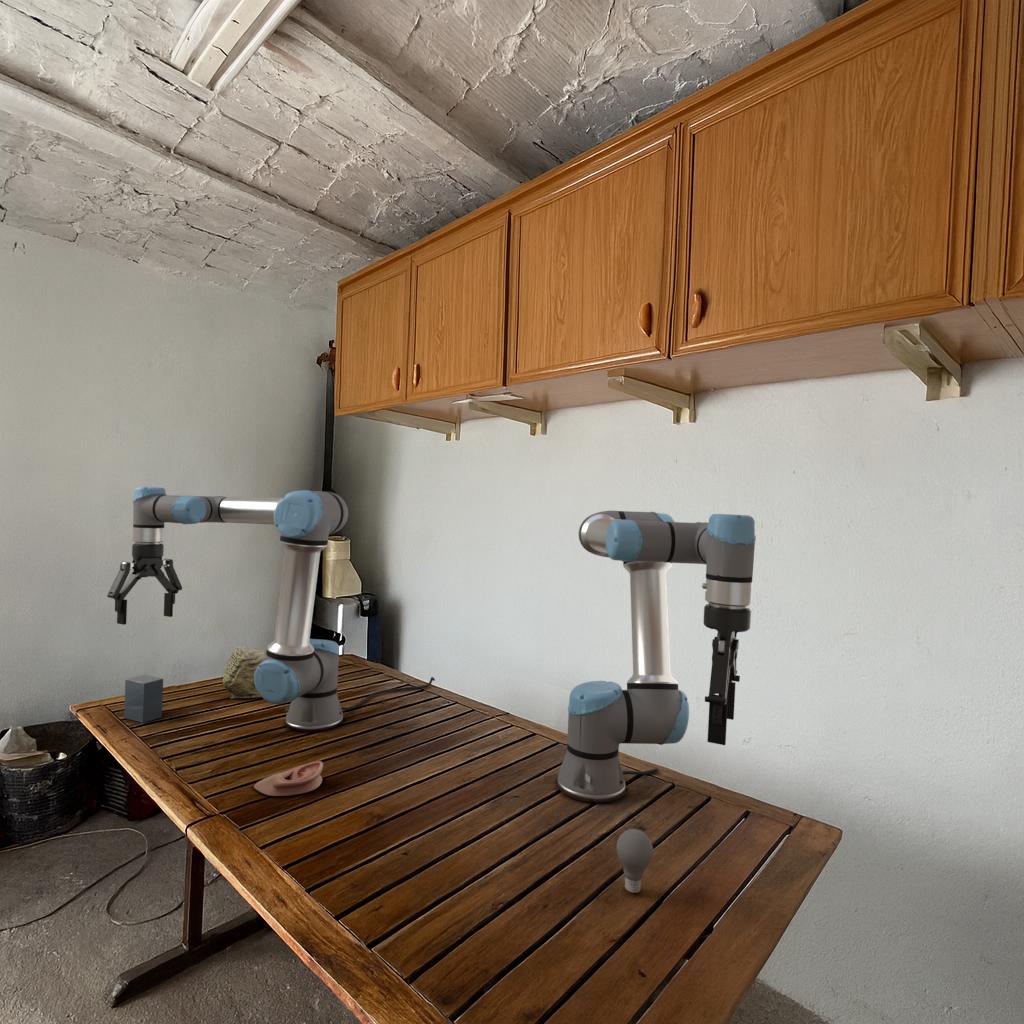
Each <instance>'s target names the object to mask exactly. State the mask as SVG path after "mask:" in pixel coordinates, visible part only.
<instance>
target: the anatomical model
mask: <svg viewBox="0 0 1024 1024" xmlns="http://www.w3.org/2000/svg"><path fill="white" fill-rule="evenodd" d="M323 768H324V763H323V761H321V760H318V761H312V762H309V763H306V764H303V765H299V766H297V767H294V768H291V769H288V770H286V771H283V772H278V773H275V774H272V775H269V776H267V777H265V778H263V779H260V780H259V781H257V782H256V783H255V784H254V785H253V788H254V789H255V790H256V791H257V792H259V793H261V794H264V795H266V796H268V797H269V796H270V797H284V796H295V795H301V794H305V793H308V792H312V791H315V790H316V789H317V788H319V787H320V786H321V784H322V783H323V777H322V775H321V774H322V771H323Z"/></svg>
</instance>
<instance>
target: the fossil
mask: <svg viewBox="0 0 1024 1024" xmlns="http://www.w3.org/2000/svg"><path fill="white" fill-rule="evenodd" d="M265 659H266V652H265V650H264V649H263V648H260V647H258V648H251V647H247V646H246V647H245V646H238V647H237V648H236V649H235V650H233V651H232V653H231V656H230V657H229V659H228V660H227V663H226V666H225V668H224V671H223V675H222V676H223V677H222V685H223V687H224V688H225V690H226V691H228V693H229V698H230V699H250V698H262V696H261V694H260V693H259V692H258V691H257V689H256V687H255V683H254V674H255V671H256V669H257V667H258V666H259V665H260V664H261V663H262V662H263V661H265Z"/></svg>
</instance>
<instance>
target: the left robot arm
mask: <svg viewBox="0 0 1024 1024" xmlns="http://www.w3.org/2000/svg"><path fill="white" fill-rule="evenodd" d="M132 504H133V505H132V506H133V507H132V508H133V511H132V513H133V514H132V515H133V517H132V542H134V543H133V544H132V545H131V557H132V561H131V562H130V561H129V562H128V561H121V562H120V565H119V571H118V573H117V575H116V576H115V578H114V580H113V582H112V585H111V586H110V588H109V591H108V592H107V595H106V597H107V598H109V599H113V600H114V612H116V624H117V625H118V624H119V625H124V626H125V625H127V616H128V615H127V613H128V599H126V597H127V595H128V594H129V593H130V592H131V590H132V589H133V588H134V587H135V585H136V584H137V582H138V581H140V580H141V579H142V578H148V577H149V578H156V580H157V581H158V582H159V584H160V585H161V586H162V587H163V588H164V589H165V591H166V592H164V593H163V594H164V595H163V596H164V597H163V598H164V600H163V616H164V617H168V618H172V617H174V615H173V612H174V605H175V604H176V594H178V593H179V591H182V590H183V586H182V583H181V581H180V579H179V577H178V574H177V572H176V569H175V567H174V560H173V559H172V558H163V557H164V550H165V549H164V548H165V547H164V544H163V543H164V542H165V524H166V523H168V524H169V523H172V524H181V525H195V524H200V523H220V524H221V523H223V524H226V523H229V524H249V525H251V524H253V525H274V526H275V527H276V530H277V531H278V533H279V534H280V536H279V542H280V544H281V545H282V546H283V547H284V555H283V556H284V557H283V564H282V572H281V581H280V589H279V598H278V606H277V613H276V621H275V629H274V630H275V631H274V638H273V641H272V642H270V643H269V644H268V645H267V646H266V652H265V653H266V659H265V661H263V662H262V663H261V664H260V665H259V666H258V667H257V669H256V671H255V674H254V683H255V687H256V689H257V691H258V692H259V693H260V694H261V696H262V697H261V698H262V699H263V700H265V701H266V702H268V703H270V704H274V705H283V704H286V703H289V702H290V704H289V706H286V707H285V712H287V713H286V715H285V726H286V728H287V729H289V730H291V731H294V732H295V731H296V732H301V733H316V732H325V731H329V730H332V729H335V728H337V727H339V726H340V725H342V723H343V722H344V714H343V711H351V710H353V709H355V708H357V707H359V706H361V705H362V704H364V703H366V702H367V701H369V700H370V699H371V698H373V697H374V696H376V695H380V694H384V693H392V692H400V691H409V690H420V689H425V688H426V689H427V688H428V687H430V686H431V685H432V683H433V681H434V682H435V681H436V679H435V678H434V677H433V676H431V677H430V680H429V682H428V683H427V684H425V685H424V684H423V685H417V686H406V687H399V688H398V687H397V688H388V689H383V690H378V691H376V692H372V693H371V694H369V695H368V696H367V697H365V698H364V699H362V700H360V701H359V702H357V703H356V704H353V705H351V706H341V702H340V699H339V695H338V682H339V662H340V661H339V660H340V652H339V648H340V646H339V643H337V641H334V640H329V639H317V638H311V629H312V623H313V614H314V607H315V598H316V590H317V583H318V574H319V565H320V557H321V552H322V551H323V550H324V549H326V548H327V547H328V544H329V543H328V542H329V535H333V534H335V533H337V532H339V531H341V529H343V527H344V526H345V525H346V523H347V521H348V518H349V509H348V506H347V503H346V501H345V500H344V499H343V497H342V496H340V495H339V494H337V493H335V492H332V491H320V490H309V489H306V490H304V489H301V490H293V491H290V492H288V493H286V494H285V495H283V496H281V497H259V496H258V497H257V496H256V497H254V496H252V497H251V496H221V495H215V496H212V495H209V496H207V495H204V496H203V495H187V494H186V495H173V494H172V495H170V494H166V489H165V488H164V487H159V486H158V487H157V486H156V487H155V486H138V487H135V489H134V493H133V500H132ZM162 568H163V569H164V571H163V569H162ZM131 570H132V571H131ZM164 572H165V573H164Z"/></svg>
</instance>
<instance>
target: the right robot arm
mask: <svg viewBox="0 0 1024 1024" xmlns="http://www.w3.org/2000/svg"><path fill="white" fill-rule="evenodd" d="M756 540H757V536H756V521H755V519H754V517H753V516H751V515H749V514H733V513H712V514H711V515H710V516H709V518H708V522H699V521H697V522H683V521H681V522H680V521H675V520H674V519H673V517H672V516H671V515H670V514H668V513H664V512H656V511H628V510H627V511H626V510H602V511H597V512H595V513H592V514H590V515H588V516H587V517H586V518H584V520H583V521H582V522H581V524H580V526H579V528H578V541H579V542H580V545H581V546H582V549H584V550H585V551H586V552H587V553H590V554H593V555H595V556H598V557H603V558H609V559H610V560H613V561H620V562H622V564H623V565H622V567H623V568H624V569H625V571H626V572H628V573H629V587H630V588H629V589H630V615H631V617H630V618H631V620H630V621H631V647H632V649H631V650H632V651H631V652H632V675H631V676H630V677H629V679H628V680H627V681H626V689H622V686H621V685H620V684H619V683H617V682H614V681H606V680H591V681H586V682H582V683H580V684H578V685H576V686H574V687H573V688H572V689H571V691H570V693H569V701H568V707H567V712H568V717H567V737H566V739H567V741H566V752H565V755H564V758H563V760H562V763H561V766H560V768H559V770H558V775H557V782H556V785H557V788H558V790H559V791H560V792H561V793H562V794H564V795H565V796H567V797H569V798H571V799H573V800H577V801H580V802H585V803H586V802H587V803H595V804H601V803H602V804H605V803H610V802H615V801H618V800H619V799H621V798H622V797H623V796H624V795H625V793H626V780H625V779H626V778H625V776H624V775H633V776H644V775H645V776H646V775H651V774H655V773H659V771H660V770H659V768H658V767H656V768H652V769H648V770H643V771H642V770H640V771H639V770H623V769H622V764H621V760H620V757H619V751H620V750H619V749H620V744H621V745H622V744H635V745H636V744H638V745H640V744H641V745H660V746H662V745H669V744H678V743H679V742H680V741H681V740H682V739H683V738H684V736H685V734H686V732H687V729H688V725H689V719H690V704H689V701H688V696H687V694H686V693H685V692H684V691H682V690H681V689H679V682H678V681H677V680H676V679H675V678H674V677H673V676H672V673H671V672H672V669H671V652H670V648H671V647H670V629H669V610H668V609H669V608H668V589H667V587H668V586H667V572H668V571H670V569H671V568H672V567H673V564H691V565H693V564H694V565H696V564H697V565H706V566H705V582H703V583H701V588H702V589H703V590H706V591H705V592H704V600H705V601H706V602H707V603H706V604H705V605H704V606H703V625H704V626H705V628H707V629H710V630H715V631H716V632H717V633H716V636H714V638H713V639H712V641H711V648H712V649H711V650H712V655H711V670H710V679H709V691H708V695H707V696H704V702H705V703H709V704H708V725H707V740H706V741H707V743H710V744H714V745H715V744H716V745H721V746H726V742H727V725H728V723H727V722H728V720H732V721H733V720H734V719H735V703H736V702H735V701H736V683H739V682H740V679H741V676H740V675H737V674H738V670H737V661H738V659H737V658H738V653H739V644H740V639H738V634H739V633H743V632H744V633H745V632H748V631H750V629H751V621H752V610H751V609H750V607H749V606H751V605H752V603H753V587H754V581H753V577H754V561H755V548H756V547H755V545H756Z"/></svg>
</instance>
